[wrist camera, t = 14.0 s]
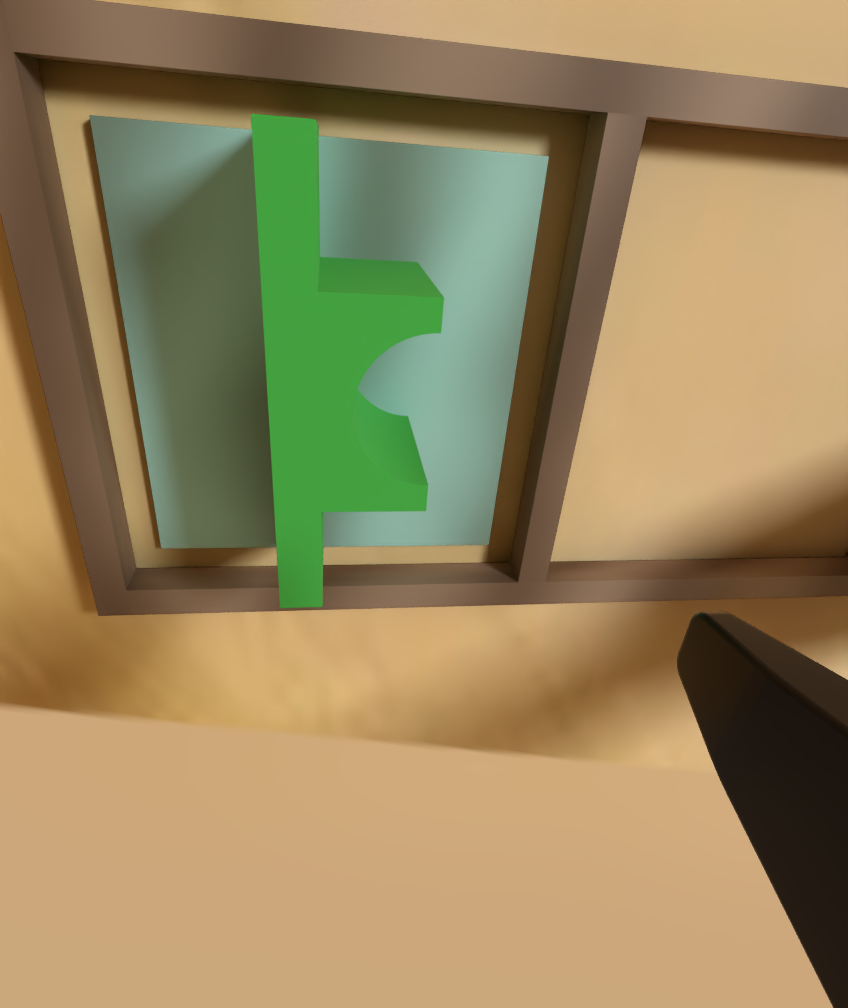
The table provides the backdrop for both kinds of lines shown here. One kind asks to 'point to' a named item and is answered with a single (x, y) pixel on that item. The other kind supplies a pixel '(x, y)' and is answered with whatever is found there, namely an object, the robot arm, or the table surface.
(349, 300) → the pipe clamp
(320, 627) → the table surface
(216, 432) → the sorting frame
